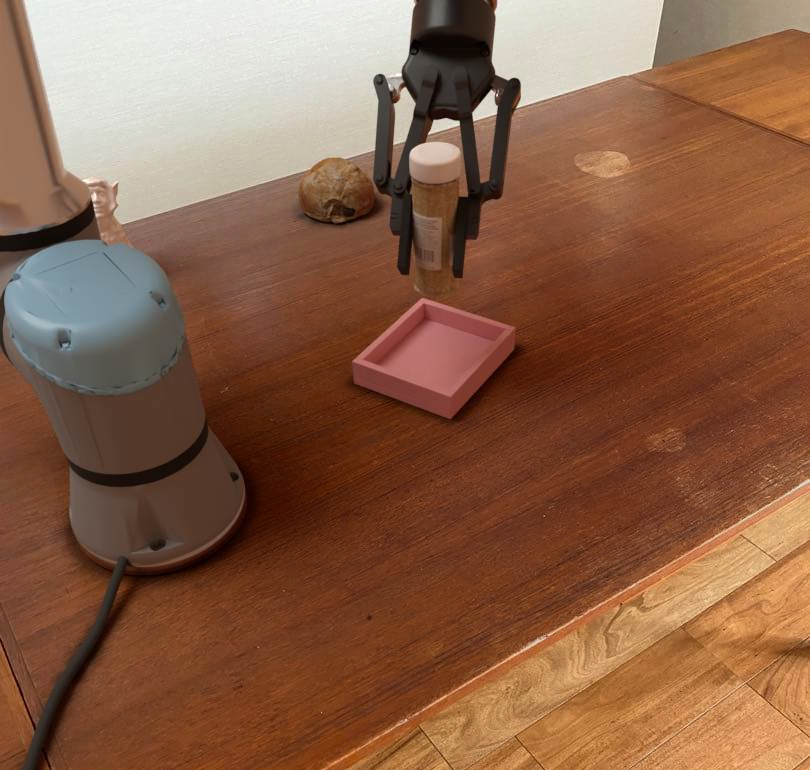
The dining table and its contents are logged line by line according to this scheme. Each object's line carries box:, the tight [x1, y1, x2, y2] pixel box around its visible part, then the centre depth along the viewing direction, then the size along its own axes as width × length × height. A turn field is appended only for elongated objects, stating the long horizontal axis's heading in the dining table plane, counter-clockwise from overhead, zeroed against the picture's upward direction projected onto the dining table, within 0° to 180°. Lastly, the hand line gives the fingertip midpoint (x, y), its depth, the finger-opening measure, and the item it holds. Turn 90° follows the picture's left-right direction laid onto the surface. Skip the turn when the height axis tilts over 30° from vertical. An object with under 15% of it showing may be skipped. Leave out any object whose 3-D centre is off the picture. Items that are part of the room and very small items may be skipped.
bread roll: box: [297, 157, 376, 225], centre depth 114 cm, size 10×10×8 cm
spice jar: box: [409, 141, 463, 301], centre depth 80 cm, size 5×5×13 cm
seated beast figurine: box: [81, 176, 135, 248], centre depth 101 cm, size 10×9×12 cm
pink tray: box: [351, 297, 517, 420], centre depth 90 cm, size 14×12×3 cm
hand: (430, 272), depth 79 cm, fingers closed on spice jar, 4 cm apart
